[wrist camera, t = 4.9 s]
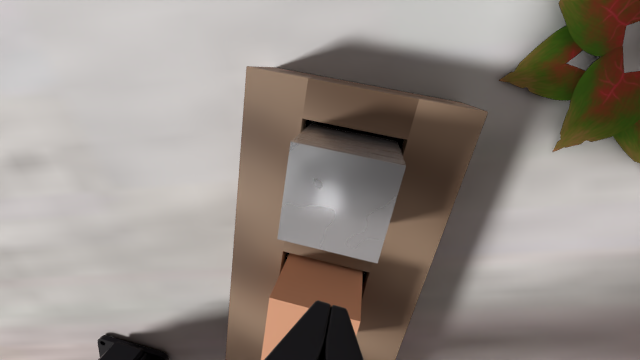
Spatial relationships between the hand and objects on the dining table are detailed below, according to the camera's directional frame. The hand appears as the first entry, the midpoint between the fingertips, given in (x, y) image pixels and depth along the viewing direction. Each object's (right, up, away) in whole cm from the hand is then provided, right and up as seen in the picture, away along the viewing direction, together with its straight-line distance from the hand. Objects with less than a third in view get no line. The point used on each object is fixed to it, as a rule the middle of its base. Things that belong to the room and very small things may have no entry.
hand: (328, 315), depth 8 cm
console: (0, -1, +12) cm, 12 cm away
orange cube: (0, -2, +9) cm, 9 cm away
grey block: (+1, +4, +6) cm, 8 cm away
